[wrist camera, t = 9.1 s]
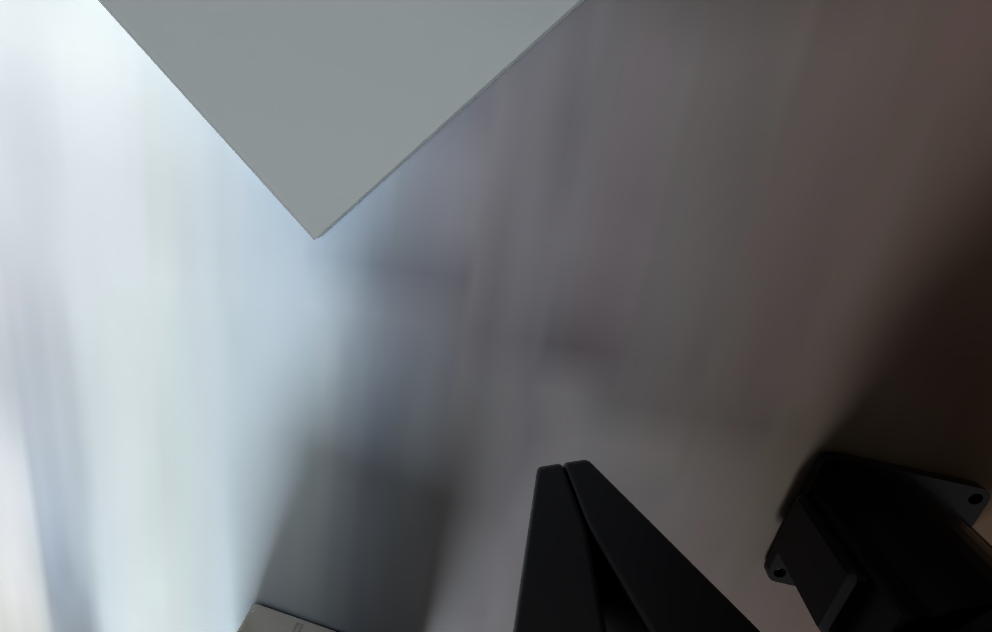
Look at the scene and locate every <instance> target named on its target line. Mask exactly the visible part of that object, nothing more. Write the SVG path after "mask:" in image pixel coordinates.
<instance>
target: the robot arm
mask: <svg viewBox="0 0 992 632" xmlns="http://www.w3.org/2000/svg"><path fill="white" fill-rule="evenodd" d="M832 463H836V464H835V465H834V466H832V467H828V466H829V465H830V464H832ZM973 494H974V495H973ZM971 495H973V496H971ZM970 496H971V497H970ZM989 499H990V494H989V492H988V491H987V490H986V489H984V488H983V487H982V486H981V485H980V484H978V483H976V482H972V481H967V480H963V479H958V478H954V477H949V476H944V475H940V474H935V473H931V472H926V471H921V470H917V469H912V468H908V467H903V466H898V465H894V464H889V463H885V462H880V461H875V460H871V459H866V458H862V457H857V456H852V455H848V454H843V453H839V452H832V451H829V452H825V453H823V454H821V455H820V456H819V457H818V458H817V460H816V462H815V464H814V466H813V468H812V470H811V472H810V474H809V476H808V478H807V480H806V482H805V484H804V486H803V488H802V490H801V492H800V494H799V496H798V498H797V499H796V500H795V501H794V503H793V505H792V507H791V509H790V511H789V513H788V515H787V517H786V519H785V521H784V523H783V525H782V527H781V529H780V531H779V533H778V535H777V537H776V539H775V541H774V546H773V548H772V550H771V552H770V554H769V556H768V558H767V560H766V562H765V565H764V568H765V570H766V572H767V575H768V577H769V578H770V579H771V580H773V581H776V582H780V583H785V584H789V585H794V586H796V588H797V590H798V591H799V593H800V595H801V597H802V599H803V601H804V603H805V605H806V606H807V608H808V610H809V612H810V614H811V616H812V618H813V620H814V622H815V623H816V625H817V627H818V628H819V630H820V631H821V632H992V546H991V545H990V544H989V543H988V542H987V541H986V540H985V539H984V538H983V537H982V536H981V535H980V534H979V533H978V532H977V531H976V530H975V529H974V528H973V527H972V526H973V524H974V523H975V521H976V520H977V518H978V517H979V515H980V514H981V512H982V511H983V509H984V508H985V506H986V505H987V503H988V502H989ZM779 568H781V569H779ZM776 569H779V570H776ZM513 632H760V631H759V630H758V629H757V628H756V627H755V626H754V625H753V624H752V623H751V622H750V621H749V620H748V619H747V618H746V617H745V616H744V615H743V614H742V613H741V612H740V611H739V610H738V609H737V608H736V607H735V606H734V605H733V604H732V603H731V602H730V601H729V600H728V599H727V598H726V597H725V596H724V595H723V594H722V593H721V592H720V591H719V590H718V589H717V588H716V587H715V586H714V585H713V584H712V583H711V582H710V581H709V580H708V579H707V578H706V577H705V576H704V575H703V574H702V573H701V572H700V571H699V570H698V569H697V568H696V567H695V566H694V565H693V564H692V563H691V562H690V561H689V560H688V559H687V558H686V557H685V556H684V555H683V554H682V553H681V552H680V551H679V550H678V549H677V548H676V547H675V546H674V545H673V544H672V543H671V542H670V541H669V540H668V539H667V538H666V537H665V536H664V535H663V534H662V533H661V532H660V531H659V530H658V529H657V528H656V527H655V526H654V525H653V524H652V523H651V522H650V521H649V520H648V519H647V518H646V517H645V516H644V515H643V514H642V513H641V512H640V511H639V510H638V509H637V508H636V507H635V506H634V505H633V504H632V503H631V502H630V501H629V500H628V499H627V498H626V497H625V496H624V495H623V494H622V493H621V492H620V491H619V490H618V489H617V488H616V487H615V486H614V485H613V484H612V483H611V482H610V481H609V480H608V479H607V478H606V477H605V476H604V475H603V474H601V473H600V472H599V471H598V470H597V469H596V468H595V467H594V466H593V465H592V464H591V463H590V462H589V461H587V460H580V461H574V462H568V463H565V464H564V465H563V467H562V465H560V464H555V465H549V466H543V467H539V468H538V470H537V474H536V481H535V487H534V494H533V501H532V508H531V514H530V521H529V528H528V535H527V541H526V548H525V555H524V562H523V568H522V575H521V582H520V589H519V595H518V602H517V609H516V616H515V622H514V629H513Z"/></svg>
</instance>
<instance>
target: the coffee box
mask: <svg viewBox="0 0 992 632" xmlns="http://www.w3.org/2000/svg"><path fill="white" fill-rule="evenodd" d="M237 632H336V631H333V630H330V629H328V628H325V627H322V626H319V625H316V624H313V623H310V622H307V621H305V620H302V619H299V618H296V617H293V616H290V615H287V614H284V613H281V612H279V611H276V610H273V609H270V608H267V607H265V606H262V605H259V604H254V605H253V606H252V608H251V609H250V611H249V613H248V614H247V616H246V618H245V620H244V621H243V623H242V625H241V626H240V628H239V630H238V631H237Z"/></svg>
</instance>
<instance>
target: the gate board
mask: <svg viewBox="0 0 992 632" xmlns="http://www.w3.org/2000/svg"><path fill="white" fill-rule="evenodd" d="M583 1H584V0H99V2H100V3H101V4H102V5H103V6H104V7H105V8H106V9H107V10H108V12H109V13H110V14H111V15H112V16H113V17H114V18H115V19H116V20H117V22H118V23H119V24H120V25H121V26H122V27H123V28H124V29H125V30H126V32H127V33H128V34H129V35H130V36H131V37H132V38H133V39H134V40H135V42H136V43H137V44H138V45H139V46H140V47H141V48H142V49H143V50H144V52H145V53H146V54H147V55H148V56H149V57H150V58H151V59H152V60H153V62H154V63H155V64H156V65H157V66H158V67H159V68H160V69H161V70H162V72H163V73H164V74H165V75H166V76H167V77H168V78H169V79H170V80H171V82H172V83H173V84H174V85H175V86H176V87H177V88H178V89H179V90H180V92H181V93H182V94H183V95H184V96H185V97H186V98H187V99H188V100H189V102H190V103H191V104H192V105H193V106H194V107H195V108H196V109H197V110H198V112H199V113H200V114H201V115H202V116H203V117H204V118H205V119H206V120H207V122H208V123H209V124H210V125H211V126H212V127H213V128H214V129H215V130H216V132H217V133H218V134H219V135H220V136H221V137H222V138H223V139H224V140H225V142H226V143H227V144H228V145H229V146H230V147H231V148H232V149H233V150H234V151H235V153H236V154H237V155H238V156H239V157H240V158H241V159H242V160H243V161H244V163H245V164H246V165H247V166H248V167H249V168H250V169H251V170H252V171H253V173H254V174H255V175H256V176H257V177H258V178H259V179H260V180H261V181H262V183H263V184H264V185H265V186H266V187H267V188H268V189H269V190H270V191H271V193H272V194H273V195H274V196H275V197H276V198H277V199H278V200H279V201H280V203H281V204H282V205H283V206H284V207H285V208H286V209H287V210H288V211H289V213H290V214H291V215H292V216H293V217H294V218H295V219H296V220H297V221H298V223H299V224H300V225H301V226H302V227H303V228H304V229H305V230H306V231H307V233H308V234H309V235H310V236H311V237H312V238H313V239H314V240H315V239H317V238H319V237H321V236H322V235H324V234H325V233H326V232H327V231H328V230H329V229H330V228H332V227H333V226H334V225H335V224H336V223H337V222H338V221H339V220H340V219H342V218H343V217H344V216H345V215H346V214H347V213H348V212H349V211H351V210H352V209H353V208H354V207H355V206H356V205H357V204H358V203H359V202H361V201H362V200H363V199H364V198H365V197H366V196H367V195H368V194H369V193H371V192H372V191H373V190H374V189H375V188H376V187H377V186H378V185H379V184H381V183H382V182H383V181H384V180H385V179H386V178H387V177H388V176H389V175H391V174H392V173H393V172H394V171H395V170H396V169H397V168H398V167H400V166H401V165H402V164H403V163H404V162H405V161H406V160H407V159H408V158H410V157H411V156H412V155H413V154H414V153H415V152H416V151H417V150H418V149H420V148H421V147H422V146H423V145H424V144H425V143H426V142H427V141H428V140H430V139H431V138H432V137H433V136H434V135H435V134H436V133H437V132H438V131H440V130H441V129H442V128H443V127H444V126H445V125H446V124H447V123H449V122H450V121H451V120H452V119H453V118H454V117H455V116H456V115H457V114H459V113H460V112H461V111H462V110H463V109H464V108H465V107H466V106H467V105H469V104H470V103H471V102H472V101H473V100H474V99H475V98H476V97H477V96H479V95H480V94H481V93H482V92H483V91H484V90H485V89H486V88H487V87H489V86H490V85H491V84H492V83H493V82H494V81H495V80H496V79H498V78H499V77H500V76H501V75H502V74H503V73H504V72H505V71H506V70H508V69H509V68H510V67H511V66H512V65H513V64H514V63H515V62H516V61H518V60H519V59H520V58H521V57H522V56H523V55H524V54H525V53H526V52H528V51H529V50H530V49H531V48H532V47H533V46H534V45H535V44H536V43H538V42H539V41H540V40H541V39H542V38H543V37H544V36H545V35H547V34H548V33H549V32H550V31H551V30H552V29H553V28H554V27H555V26H557V25H558V24H559V23H560V22H561V21H562V20H563V19H564V18H565V17H567V16H568V15H569V14H570V13H571V12H572V11H573V10H574V9H575V8H577V7H578V6H579V5H580V4H581V3H582V2H583Z"/></svg>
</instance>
